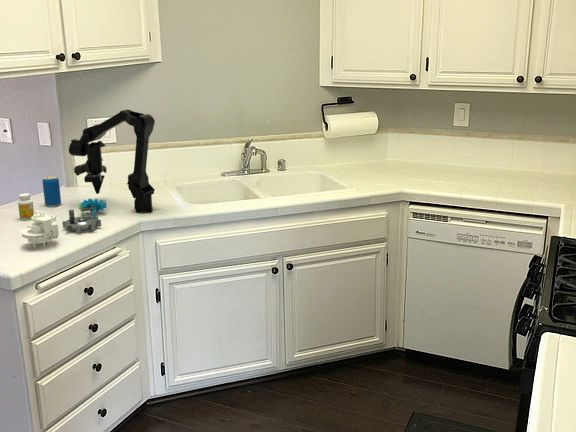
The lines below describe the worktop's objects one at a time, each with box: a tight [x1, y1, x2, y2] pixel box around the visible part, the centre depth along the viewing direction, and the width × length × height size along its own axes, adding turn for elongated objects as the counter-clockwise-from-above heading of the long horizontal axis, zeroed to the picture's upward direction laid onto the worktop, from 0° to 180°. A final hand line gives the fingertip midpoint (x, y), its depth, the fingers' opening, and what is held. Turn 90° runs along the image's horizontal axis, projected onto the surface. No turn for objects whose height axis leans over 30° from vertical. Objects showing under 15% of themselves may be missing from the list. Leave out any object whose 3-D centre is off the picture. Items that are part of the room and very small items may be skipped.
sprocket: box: [62, 209, 102, 233], centre depth 242 cm, size 14×14×8 cm
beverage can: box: [42, 175, 62, 208], centre depth 272 cm, size 6×6×12 cm
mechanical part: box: [20, 209, 60, 248], centre depth 225 cm, size 11×12×12 cm
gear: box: [77, 197, 107, 217], centre depth 260 cm, size 11×6×10 cm
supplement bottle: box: [17, 193, 35, 221], centre depth 254 cm, size 5×5×10 cm
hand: (97, 193), depth 272 cm, fingers closed
